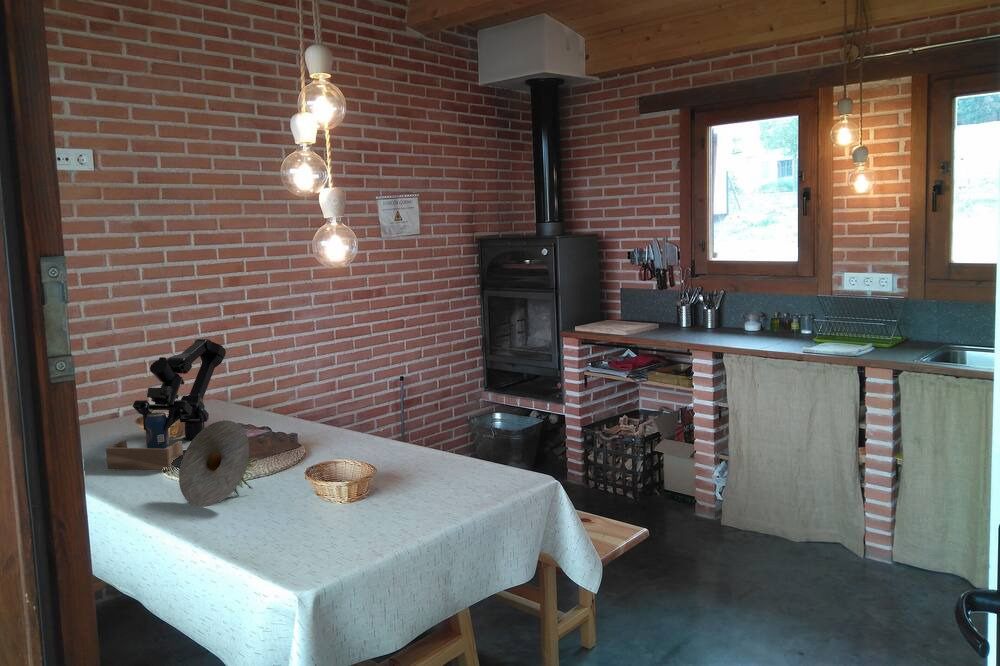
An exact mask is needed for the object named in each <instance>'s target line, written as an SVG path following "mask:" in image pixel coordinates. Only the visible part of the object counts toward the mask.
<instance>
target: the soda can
mask: <svg viewBox="0 0 1000 666" xmlns="http://www.w3.org/2000/svg"><path fill="white" fill-rule="evenodd" d="M167 417H168V415H166V412H160V411H159V412H157V411H156V412H152V413H150V414H147V417H146V419H145V427H146V430H145V438H146V448H160V449H165V448H167V447H169V446H170V431H169V428H168V429H167V430H166V431H165V430H164V425H165V422H166V420H167Z"/></svg>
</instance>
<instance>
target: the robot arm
mask: <svg viewBox="0 0 1000 666" xmlns="http://www.w3.org/2000/svg"><path fill="white" fill-rule="evenodd" d="M226 354H227V351H226V349H225V347H223V345H222V344H219V343H217V342H215V341H212V340H210V339H209V338H196V339H195V341H194V342H193V343H192V344H191V345H190V346H188V347H187V348H186V349H185V350H184V351H183V352H181V353H179V354H175V355H171V356H170V357H168V358H167V357H166V356H160V357H159V358H158V359H157V360H155V361H153V363H152V364H151V365H150V367H149V371H150V372H151V373H152V374H153V375H154V377H155V378H156V379H157V380H158V381H159V382H161V385H160V387H148V388H147V393H146V398H147V399H148V398H150V399H151V401H152V402H153V403H150V402H149V401H148V400H147V399H137V400H135V401H133V404H132V408H134V410H135V411H136V412H137V413H138V414H139V415H142V419H143V421H142V422H143V431H146V427H145V419H146V417H147V414H150V413H153V411H168V414H167V420H166V422H165V425H164V430H165V431H166V430H167V429H168V430H169V429H170V428H171V426H172V425H174V424H175V423H177V422H178V421H179V422H180V423H181V424H182V423H184V436H183V437H182V440H189V441H192V440H193V439H194V438H195V436H196V435H197V434H198V433H199V432H200V431H202V430H203V429H204V428H206V426H205V423H207V422H208V420H209V418H210V416H209V415H210V414H209V412H208V411H207V410H206V409H205V407H206V406H205V402H204V400H203V399H204V397H205V394H206V392H207V389H208V386H209V384H210V382H211V379H212V377H213V373H214V371H215V368H217V367H218V366H219V365H220V364H222V363H223V361H224V359H225V357H226ZM198 358H200V361H201V364H200V367H199V369H198V371H197V374H196V377H195V379H194V382H193V385H192V386H191V389H190V392H189V394H188V395H183V396H182V397H181V398H180V400H179V397H180V396H179V395H178V394H179V390H180V387H181V386H182V385H185V381H184V378H183V376H181V375H182V374H183V375H185V374H188V373H189V372H190V371H191V369H192V367H193V365H192V363H194V362H196V360H197V359H198ZM180 374H181V375H180Z"/></svg>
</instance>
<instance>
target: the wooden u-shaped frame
mask: <svg viewBox="0 0 1000 666" xmlns="http://www.w3.org/2000/svg"><path fill="white" fill-rule="evenodd" d="M105 453H106V454H105V457H106V463H107V470H108V469H115V471H153V472H154V471H158V472H161V471H162V469H163V467H169V466H170V465H171V463H172V462H173V460H175V459H176V458H178V457H179V456H181V455H183V456H184V449H183V441H182V440H177V441H176V442H174V443H172V444H171V445H170V444H169V446H168V447H167V448H165V449H160V448H147V447H128V442H127V439H123V440H120V441H118V442H116V443H114V444H113V445H110V446H107V447H105ZM162 472H163V471H162Z"/></svg>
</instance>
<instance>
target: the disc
mask: <svg viewBox="0 0 1000 666" xmlns="http://www.w3.org/2000/svg"><path fill="white" fill-rule="evenodd" d="M190 441H191V442H190V443H189V444H188V446H187V448H186V450H185V452H184V453H183V459H182V461H181V464H179V465H180V466H179V472H178V485H179V488H180V489H179V490H180V492H181V494H182V495H183V498H184V499H185V500H186V501H187V502H188V503H189V504H191V505H193V506H195V507H203V508H204V507H211V506H214V505H217V504H218V503H220V502H222V501H223V500H225V499H226V498H227V497H228V496H230V495H231V494H232V493H235V494H236V495H237V497H240V494H239V492H238V489H237V487H240V488H242V489H244V486H243V485H246V486H248V489H251V490H254V488H253V486H251V485H250V484H249V482H247V481H246V479H245V475H246V476H249V475H252V476H253V473H252V472H255V471H256V469H255V468H253V469H250V467H251V468H252V467H255V465H256V463H254V462H253V461H255V460H259V459H261V458H264V455H262V456H258V457H252V458H249V457H250V442H249V441H250V440H249V438H248V435H247V433H246V431H245V429H244V427H242V426H241V425H240V424H239V423H237V422H235V421H232V420H219V421H215V422H213V423H211V424H209V425H207V426H205V428H204V429H203V430H202V431H200V432H199V433H198V434H197V435H196V436H195V438H194V439H193V440H190ZM250 462H251V463H250ZM252 462H253V463H252ZM248 467H249V469H248ZM248 471H249V472H248ZM250 471H251V472H250Z"/></svg>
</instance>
